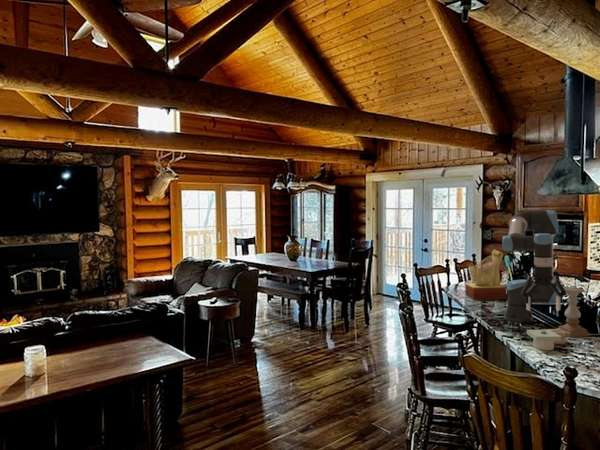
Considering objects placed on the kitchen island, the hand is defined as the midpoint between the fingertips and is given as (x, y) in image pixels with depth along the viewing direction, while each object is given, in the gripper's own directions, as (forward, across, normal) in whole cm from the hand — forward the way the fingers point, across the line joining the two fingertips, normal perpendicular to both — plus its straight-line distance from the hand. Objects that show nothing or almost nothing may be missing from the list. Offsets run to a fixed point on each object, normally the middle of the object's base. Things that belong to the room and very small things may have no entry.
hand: (543, 309), depth 213 cm
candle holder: (+19, +24, +22) cm, 37 cm away
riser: (+18, +10, +9) cm, 23 cm away
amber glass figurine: (+19, +9, +114) cm, 116 cm away
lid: (+13, 0, 0) cm, 13 cm away
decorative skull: (+20, +24, +153) cm, 156 cm away
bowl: (+18, 0, 0) cm, 18 cm away
